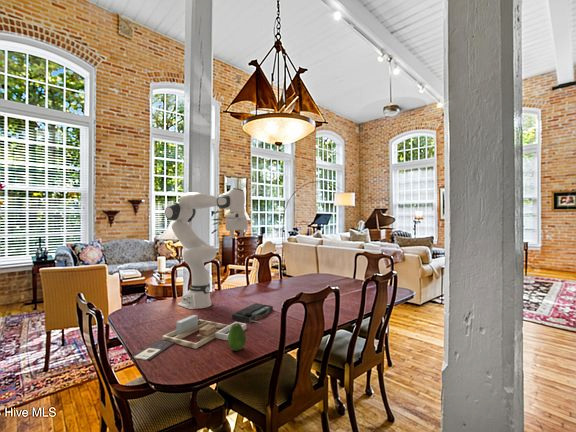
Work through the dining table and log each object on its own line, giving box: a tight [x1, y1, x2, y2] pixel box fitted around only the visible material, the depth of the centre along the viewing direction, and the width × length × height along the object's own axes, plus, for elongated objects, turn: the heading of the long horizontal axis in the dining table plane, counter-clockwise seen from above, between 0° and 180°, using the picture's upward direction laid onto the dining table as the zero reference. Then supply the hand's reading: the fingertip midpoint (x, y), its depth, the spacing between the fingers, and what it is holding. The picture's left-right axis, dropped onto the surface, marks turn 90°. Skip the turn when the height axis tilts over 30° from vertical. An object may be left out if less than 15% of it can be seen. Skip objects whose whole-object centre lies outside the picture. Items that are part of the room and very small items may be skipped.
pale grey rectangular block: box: [175, 314, 199, 336], centre depth 158 cm, size 3×12×7 cm, turn 154°
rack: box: [161, 318, 230, 350], centre depth 155 cm, size 21×26×2 cm
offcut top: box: [198, 324, 217, 336], centre depth 152 cm, size 5×7×2 cm, turn 160°
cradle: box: [214, 321, 248, 341], centre depth 157 cm, size 7×17×2 cm, turn 154°
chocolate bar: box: [131, 339, 175, 361], centre depth 137 cm, size 9×1×18 cm
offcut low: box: [195, 329, 219, 341], centre depth 152 cm, size 5×10×2 cm, turn 155°
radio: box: [231, 302, 274, 324], centre depth 184 cm, size 25×4×20 cm
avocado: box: [227, 323, 247, 352], centre depth 137 cm, size 8×8×12 cm
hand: (237, 237), depth 187 cm, fingers open, 8 cm apart
